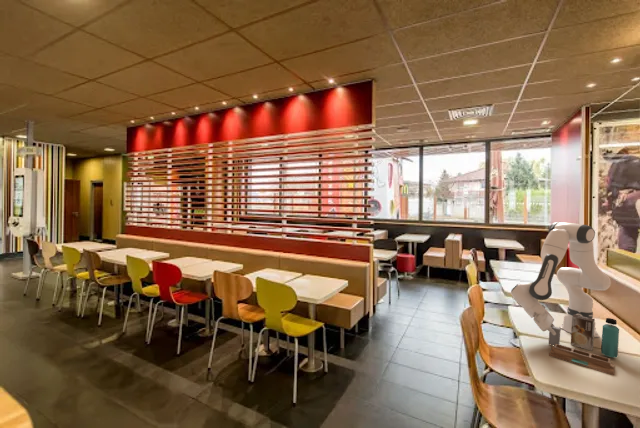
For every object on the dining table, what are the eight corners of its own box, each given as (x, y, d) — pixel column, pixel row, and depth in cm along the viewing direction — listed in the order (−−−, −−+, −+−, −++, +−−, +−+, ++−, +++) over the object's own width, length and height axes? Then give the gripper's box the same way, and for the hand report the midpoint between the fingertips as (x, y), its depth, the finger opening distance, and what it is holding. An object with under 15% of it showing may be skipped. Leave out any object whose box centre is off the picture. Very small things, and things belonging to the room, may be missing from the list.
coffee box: (593, 347, 169) (595, 318, 168) (591, 351, 165) (593, 321, 164) (572, 341, 176) (574, 313, 175) (569, 344, 171) (571, 316, 171)
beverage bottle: (621, 361, 154) (624, 322, 153) (605, 359, 156) (608, 320, 155) (611, 355, 161) (614, 317, 160) (596, 353, 162) (599, 316, 161)
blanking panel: (549, 343, 172) (550, 325, 172) (559, 345, 169) (560, 328, 169) (548, 344, 170) (549, 327, 170) (558, 347, 167) (559, 329, 167)
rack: (552, 348, 166) (553, 340, 166) (613, 365, 150) (614, 357, 149) (548, 356, 157) (549, 348, 157) (613, 375, 140) (614, 367, 140)
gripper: (537, 312, 166) (559, 336, 160) (543, 304, 181) (563, 325, 175) (527, 318, 170) (547, 341, 163) (534, 309, 184) (553, 331, 178)
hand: (556, 333), depth 169 cm, fingers closed on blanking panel, 3 cm apart
